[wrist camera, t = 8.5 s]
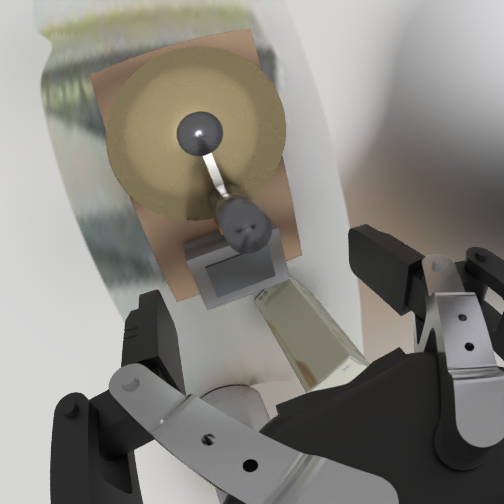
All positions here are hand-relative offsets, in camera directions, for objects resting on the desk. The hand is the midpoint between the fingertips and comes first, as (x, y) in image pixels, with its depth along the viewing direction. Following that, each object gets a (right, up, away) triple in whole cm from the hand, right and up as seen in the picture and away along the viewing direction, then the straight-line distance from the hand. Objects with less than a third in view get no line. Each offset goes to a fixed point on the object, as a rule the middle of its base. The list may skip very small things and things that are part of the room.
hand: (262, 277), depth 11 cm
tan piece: (-4, +8, +11) cm, 14 cm away
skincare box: (+3, -4, +19) cm, 20 cm away
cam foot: (-4, +9, +7) cm, 13 cm away
